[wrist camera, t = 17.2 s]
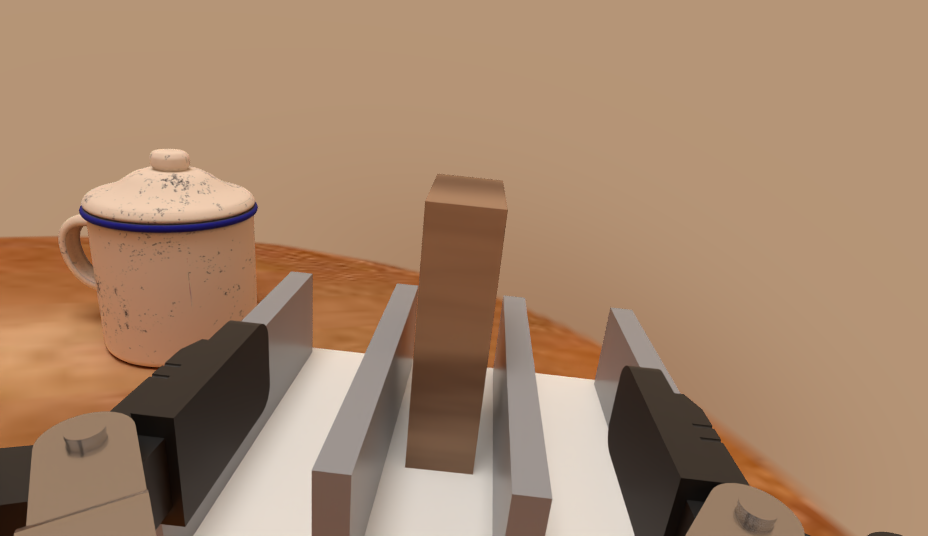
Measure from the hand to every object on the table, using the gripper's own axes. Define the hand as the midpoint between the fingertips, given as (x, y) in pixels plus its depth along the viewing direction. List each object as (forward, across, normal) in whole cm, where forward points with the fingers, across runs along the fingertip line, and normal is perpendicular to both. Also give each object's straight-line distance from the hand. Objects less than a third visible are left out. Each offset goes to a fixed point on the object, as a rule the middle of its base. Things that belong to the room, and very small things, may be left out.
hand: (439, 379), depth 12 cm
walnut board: (+11, 0, +10) cm, 15 cm away
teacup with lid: (+19, +19, +11) cm, 29 cm away
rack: (+10, 0, +11) cm, 15 cm away
